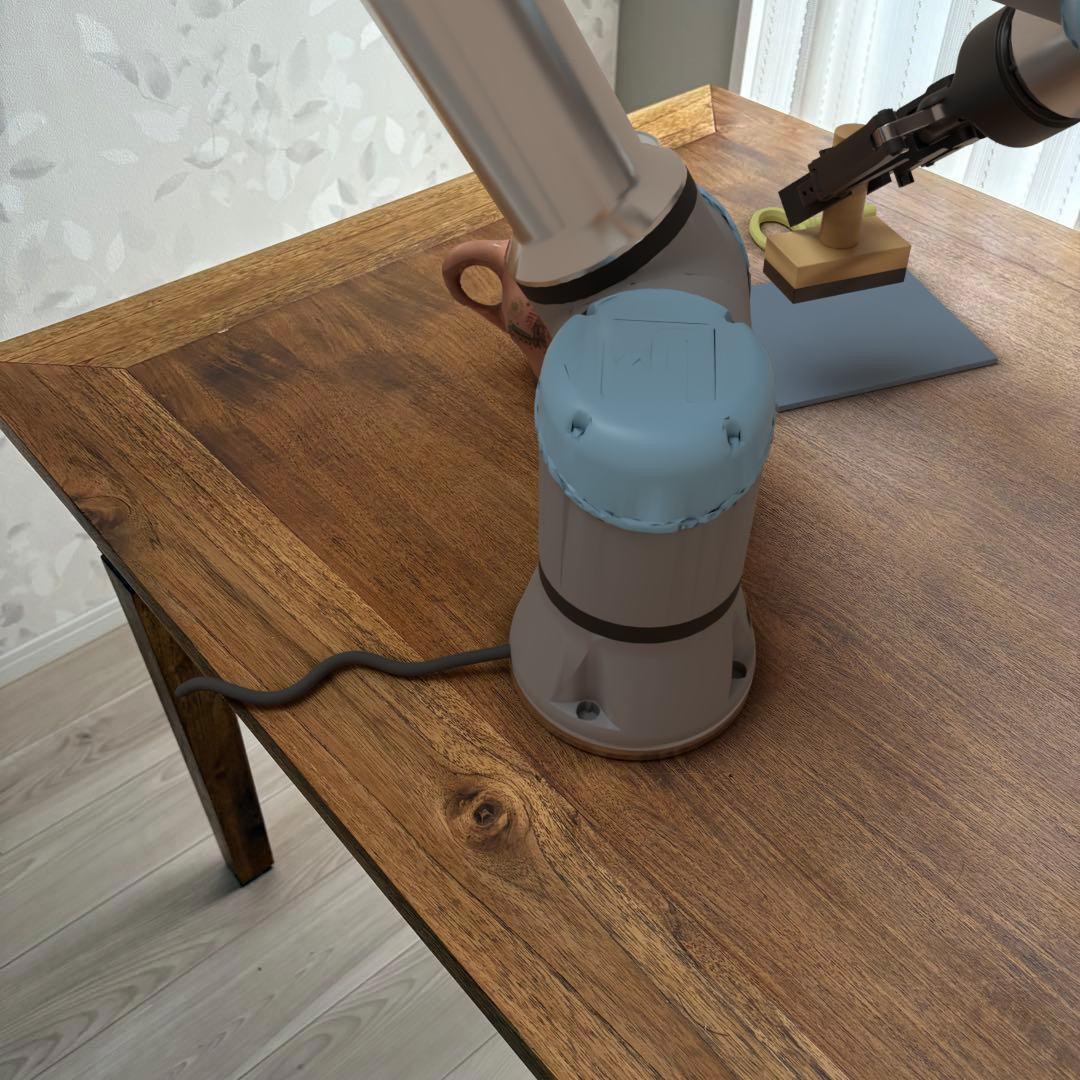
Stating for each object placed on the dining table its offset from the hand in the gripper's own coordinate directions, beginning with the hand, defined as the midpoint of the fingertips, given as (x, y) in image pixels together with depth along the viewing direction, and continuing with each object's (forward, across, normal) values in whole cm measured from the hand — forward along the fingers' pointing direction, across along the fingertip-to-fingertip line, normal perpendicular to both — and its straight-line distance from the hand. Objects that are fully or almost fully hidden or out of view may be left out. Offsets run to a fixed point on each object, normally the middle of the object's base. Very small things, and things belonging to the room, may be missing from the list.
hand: (807, 202), depth 82 cm
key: (+20, +15, 0) cm, 25 cm away
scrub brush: (0, 0, -6) cm, 6 cm away
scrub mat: (+10, +7, -10) cm, 16 cm away
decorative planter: (+14, -16, -6) cm, 23 cm away
